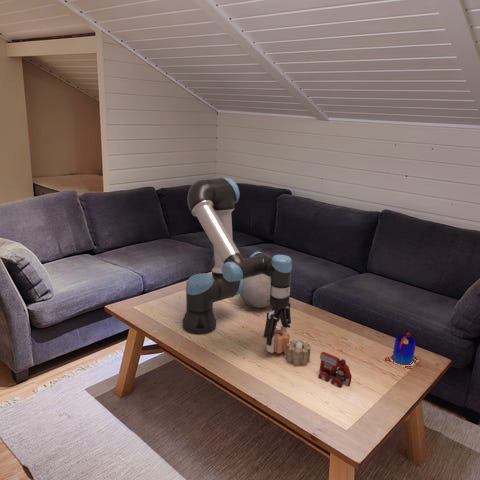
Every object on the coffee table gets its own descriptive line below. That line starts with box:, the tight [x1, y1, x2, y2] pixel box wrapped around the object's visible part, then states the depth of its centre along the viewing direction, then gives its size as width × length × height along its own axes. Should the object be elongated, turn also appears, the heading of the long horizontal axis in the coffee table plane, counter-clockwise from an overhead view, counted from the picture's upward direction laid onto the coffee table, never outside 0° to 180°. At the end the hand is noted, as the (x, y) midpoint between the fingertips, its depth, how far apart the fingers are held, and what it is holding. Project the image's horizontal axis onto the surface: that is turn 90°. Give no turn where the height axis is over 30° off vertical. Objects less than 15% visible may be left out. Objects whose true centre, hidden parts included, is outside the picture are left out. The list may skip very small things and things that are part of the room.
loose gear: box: [265, 327, 290, 354], centre depth 176 cm, size 9×9×6 cm
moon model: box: [238, 274, 271, 309], centre depth 216 cm, size 20×20×20 cm
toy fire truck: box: [317, 351, 352, 389], centre depth 160 cm, size 7×12×10 cm, turn 51°
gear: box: [285, 339, 312, 367], centre depth 171 cm, size 9×9×6 cm
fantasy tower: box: [384, 332, 419, 369], centre depth 175 cm, size 12×12×12 cm
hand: (276, 346), depth 177 cm, fingers closed on loose gear, 9 cm apart
